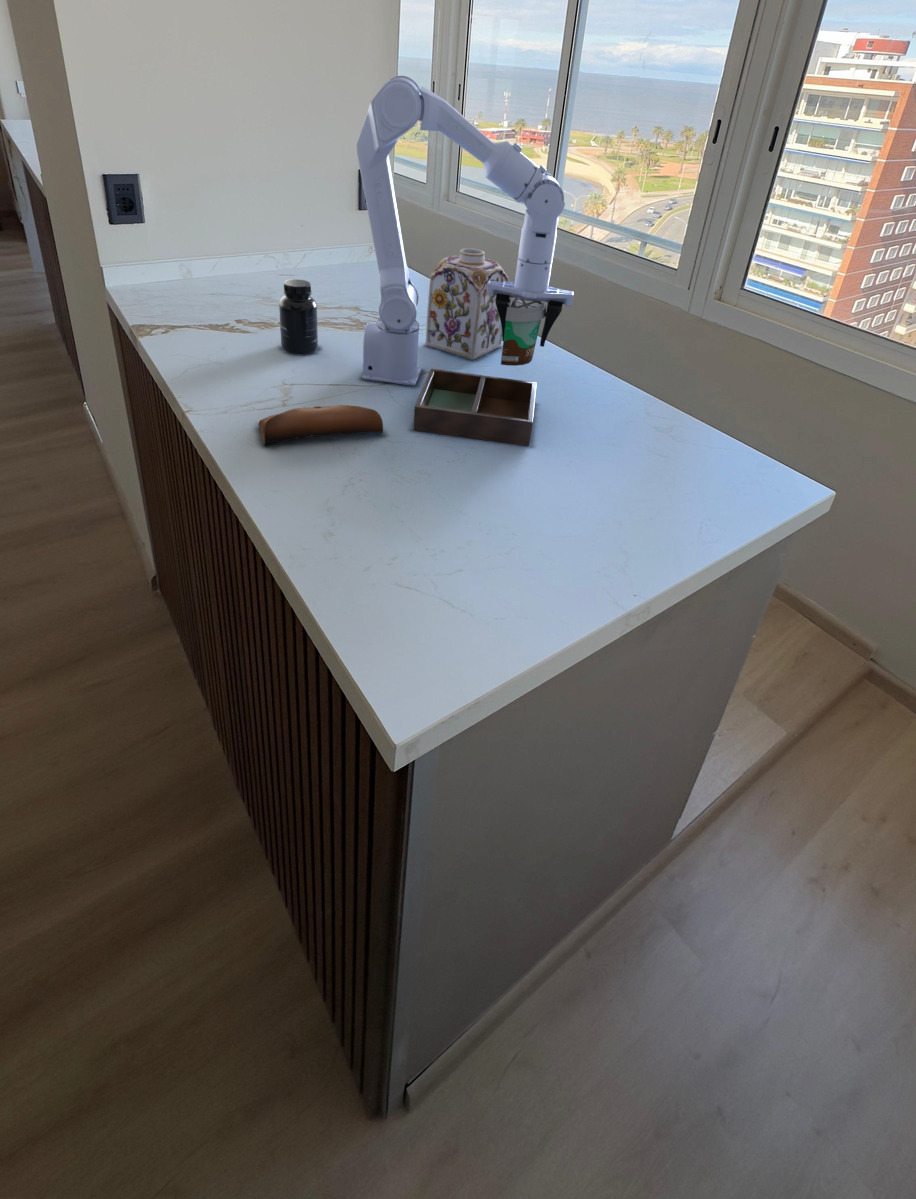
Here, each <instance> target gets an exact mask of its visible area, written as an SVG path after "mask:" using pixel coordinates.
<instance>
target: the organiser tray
mask: <svg viewBox="0 0 916 1199" xmlns="http://www.w3.org/2000/svg"><path fill="white" fill-rule="evenodd" d="M536 393H537V381H536V382H535V381H529V380H520V379H513V378H505V377H497V376H490V375H482V374H476V373H475V374H474V373H468V372H462V371H461V372H460V371H452V370H444V369H439V368H430V370H429V372H428V375H427V377H426V380H425V382H424V384H423V386H422V388H421V391H420V393H419V395H418V398H417V400H416V402H415V405H414V412H413V431H415V432H416V431H417V432H423V433H431V434H438V435H446V436H452V437H461V438H468V439H475V440H481V441H482V440H483V441H491V442H497V443H504V444H510V445H511V444H512V445H519V446H526V447H529V446H530V442H531V436H532V430H533V423H534V416H535V415H534V413H535V406H536V404H535V403H536V396H537V395H536Z"/></svg>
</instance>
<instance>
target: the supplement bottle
mask: <svg viewBox="0 0 916 1199" xmlns="http://www.w3.org/2000/svg"><path fill="white" fill-rule="evenodd" d="M283 294H284V295H283V296H282V297H281V298H280V300H279V302H278V310H279V326H280V343H281V344H280V345H281V348H282V349H283V351H285V352H287V353H289V354H293V355H309V354H312V353H315V352H316V351H317V350H318V347H319V339H318V338H319V335H318V334H319V333H318V304H317V302H316V300H315V299H314V297H312V296H311V295H312V284H311V282H310V281H308V280H305V279H300V278H299V279H297V278H291V279H286V280H285V281H283Z"/></svg>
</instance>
